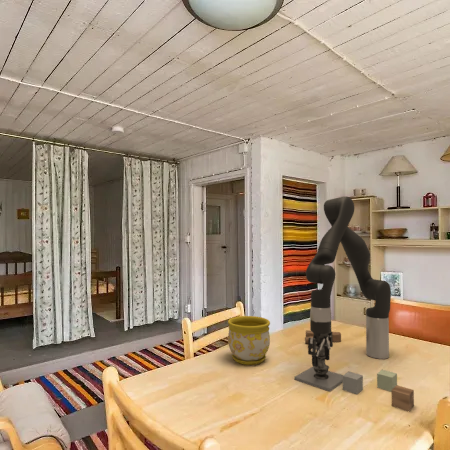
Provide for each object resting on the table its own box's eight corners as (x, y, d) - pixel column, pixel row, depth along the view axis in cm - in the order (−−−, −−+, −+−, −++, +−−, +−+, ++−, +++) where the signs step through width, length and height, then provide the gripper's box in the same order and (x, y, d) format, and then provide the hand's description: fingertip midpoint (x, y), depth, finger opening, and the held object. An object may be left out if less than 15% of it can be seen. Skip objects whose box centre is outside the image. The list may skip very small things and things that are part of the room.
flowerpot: (221, 363, 142) (221, 323, 143) (236, 350, 159) (236, 314, 159) (263, 370, 136) (263, 328, 136) (274, 355, 152) (274, 318, 153)
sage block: (382, 383, 124) (382, 369, 125) (397, 387, 121) (396, 373, 121) (377, 387, 121) (377, 373, 121) (392, 392, 117) (392, 377, 117)
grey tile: (313, 368, 137) (313, 366, 137) (347, 379, 128) (347, 376, 128) (294, 379, 127) (294, 376, 127) (329, 391, 118) (329, 388, 118)
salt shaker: (330, 380, 124) (329, 346, 124) (313, 379, 125) (312, 345, 125) (328, 373, 130) (327, 341, 130) (312, 372, 131) (311, 340, 131)
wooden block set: (303, 328, 177) (340, 329, 174) (303, 339, 177) (340, 340, 174) (307, 338, 160) (347, 339, 158) (307, 350, 160) (347, 352, 157)
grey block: (348, 385, 123) (348, 371, 123) (362, 389, 119) (362, 375, 119) (342, 390, 119) (342, 375, 119) (357, 394, 116) (356, 379, 116)
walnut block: (396, 400, 112) (396, 385, 112) (413, 406, 108) (413, 389, 108) (391, 406, 108) (391, 390, 108) (409, 412, 105) (408, 395, 105)
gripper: (320, 313, 136) (320, 355, 135) (301, 320, 125) (301, 365, 125) (338, 317, 130) (339, 360, 130) (320, 324, 120) (320, 371, 120)
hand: (320, 362), depth 128 cm, fingers open, 8 cm apart
